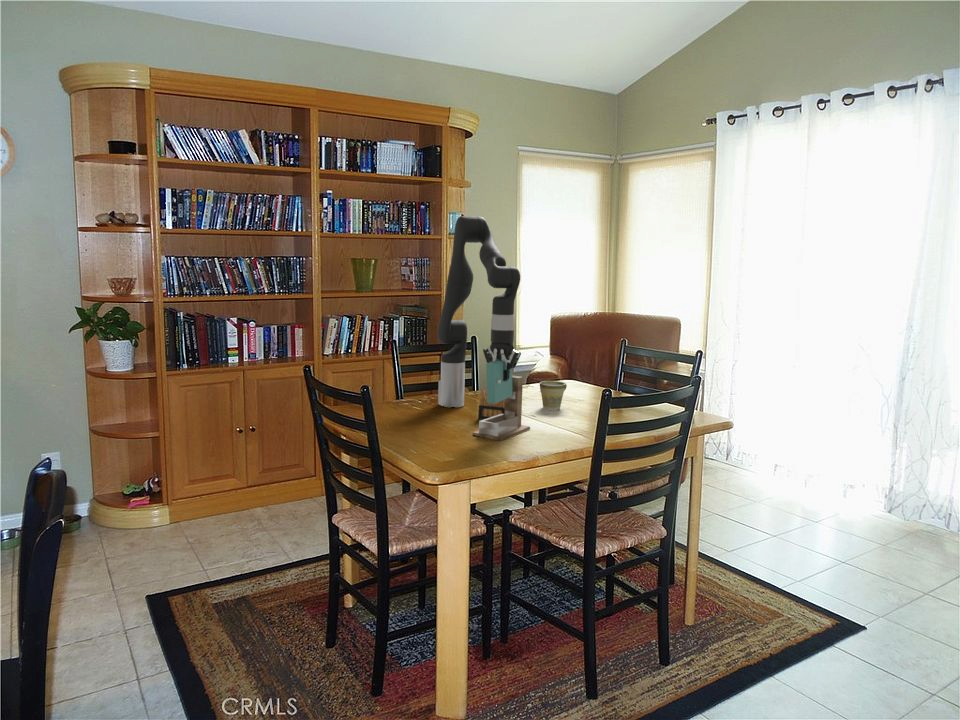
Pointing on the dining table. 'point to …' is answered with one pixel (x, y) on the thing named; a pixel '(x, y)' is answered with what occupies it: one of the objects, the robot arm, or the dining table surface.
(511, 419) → the hinge frame
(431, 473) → the dining table surface
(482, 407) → the ammunition clip
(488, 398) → the teal door
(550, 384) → the ceramic cup
